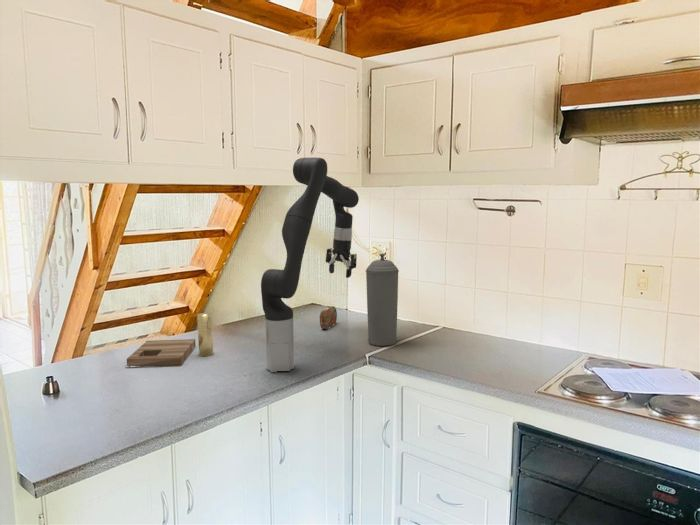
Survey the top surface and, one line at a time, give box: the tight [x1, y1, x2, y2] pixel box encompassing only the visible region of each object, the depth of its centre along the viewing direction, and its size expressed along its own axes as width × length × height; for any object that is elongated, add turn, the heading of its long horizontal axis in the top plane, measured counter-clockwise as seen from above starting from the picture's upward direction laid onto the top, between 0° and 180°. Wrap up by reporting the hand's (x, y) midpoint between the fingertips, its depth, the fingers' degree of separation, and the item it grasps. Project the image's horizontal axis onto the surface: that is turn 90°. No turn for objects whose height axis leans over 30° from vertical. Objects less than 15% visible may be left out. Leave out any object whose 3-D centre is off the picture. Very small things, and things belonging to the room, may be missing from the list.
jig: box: [126, 338, 197, 367], centre depth 183 cm, size 22×18×3 cm
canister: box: [365, 253, 400, 347], centre depth 196 cm, size 13×13×35 cm
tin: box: [319, 306, 338, 330], centre depth 222 cm, size 15×3×8 cm, turn 161°
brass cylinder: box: [196, 312, 214, 357], centre depth 185 cm, size 5×5×15 cm
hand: (339, 275), depth 215 cm, fingers open, 8 cm apart
